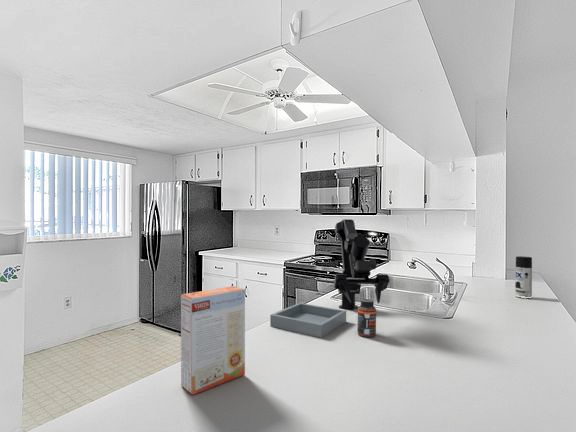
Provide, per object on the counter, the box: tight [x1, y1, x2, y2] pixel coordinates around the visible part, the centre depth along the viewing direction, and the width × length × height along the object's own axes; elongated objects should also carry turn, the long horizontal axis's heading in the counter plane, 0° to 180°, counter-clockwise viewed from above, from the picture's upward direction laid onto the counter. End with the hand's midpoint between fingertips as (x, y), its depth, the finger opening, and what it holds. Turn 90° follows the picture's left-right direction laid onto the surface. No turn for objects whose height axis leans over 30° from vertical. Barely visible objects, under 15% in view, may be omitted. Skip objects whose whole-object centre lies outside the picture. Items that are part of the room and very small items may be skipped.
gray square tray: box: [269, 302, 347, 338], centre depth 120 cm, size 20×20×4 cm
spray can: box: [514, 256, 533, 297], centre depth 164 cm, size 7×7×20 cm
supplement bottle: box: [356, 298, 377, 338], centre depth 109 cm, size 6×6×11 cm
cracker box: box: [180, 285, 246, 396], centre depth 77 cm, size 14×6×21 cm, turn 133°
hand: (365, 302), depth 112 cm, fingers open, 9 cm apart
